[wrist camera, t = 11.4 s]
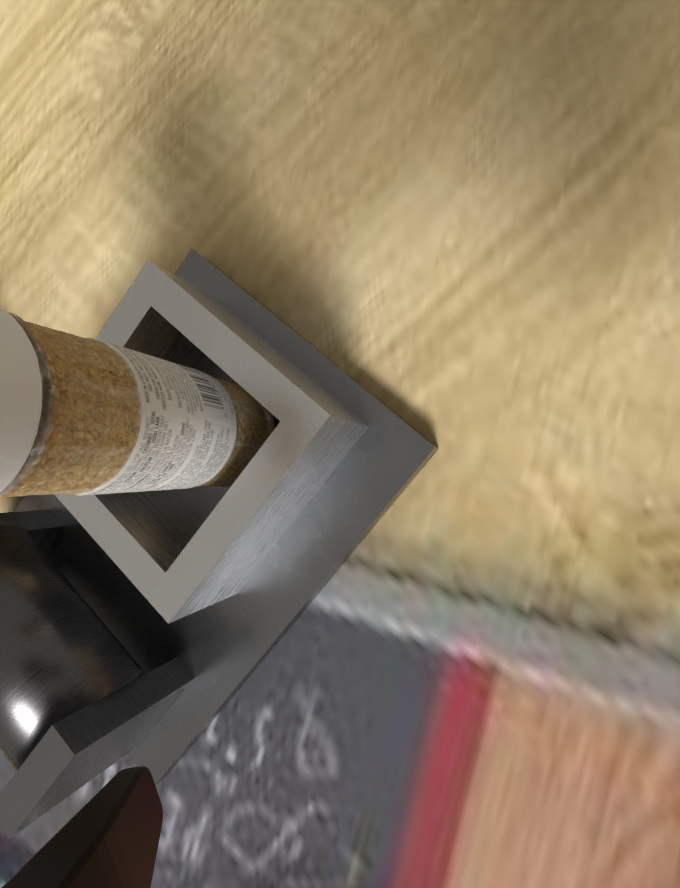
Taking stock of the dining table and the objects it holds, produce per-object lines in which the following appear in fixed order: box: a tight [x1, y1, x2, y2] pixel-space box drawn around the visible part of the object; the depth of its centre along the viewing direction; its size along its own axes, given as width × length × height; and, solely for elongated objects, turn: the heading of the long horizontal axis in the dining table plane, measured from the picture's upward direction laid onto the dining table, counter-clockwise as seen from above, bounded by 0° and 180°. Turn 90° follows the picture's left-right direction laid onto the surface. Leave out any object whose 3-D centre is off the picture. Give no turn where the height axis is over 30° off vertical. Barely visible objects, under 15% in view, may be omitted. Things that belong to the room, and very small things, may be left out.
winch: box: [0, 249, 439, 839], centre depth 21 cm, size 19×19×8 cm
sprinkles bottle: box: [0, 307, 275, 498], centre depth 16 cm, size 5×5×13 cm
